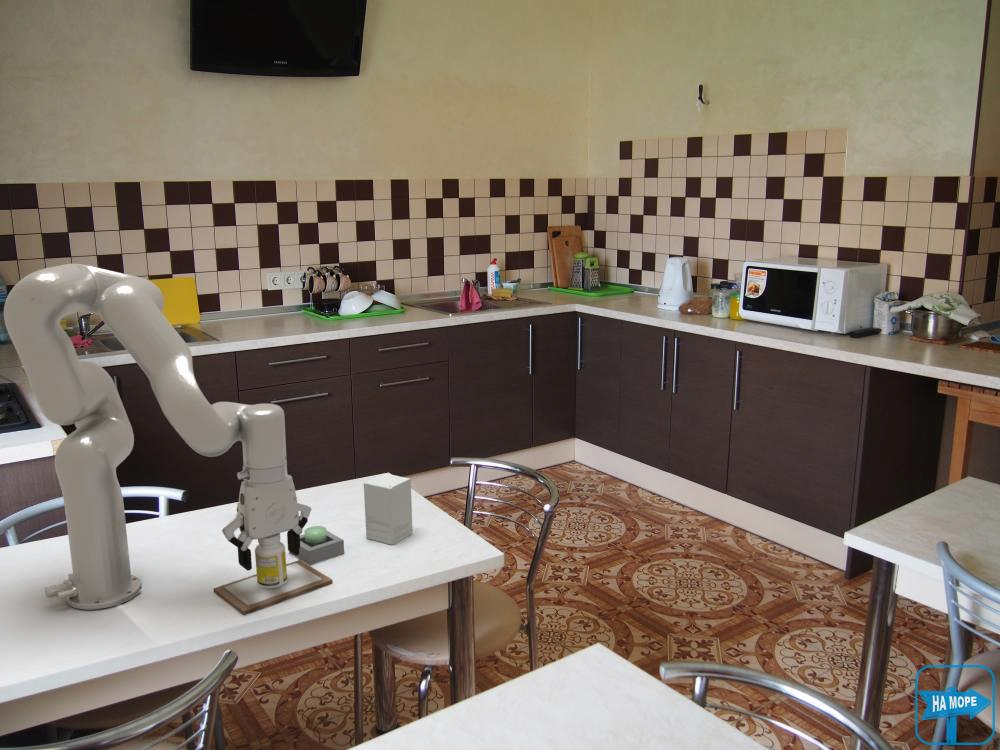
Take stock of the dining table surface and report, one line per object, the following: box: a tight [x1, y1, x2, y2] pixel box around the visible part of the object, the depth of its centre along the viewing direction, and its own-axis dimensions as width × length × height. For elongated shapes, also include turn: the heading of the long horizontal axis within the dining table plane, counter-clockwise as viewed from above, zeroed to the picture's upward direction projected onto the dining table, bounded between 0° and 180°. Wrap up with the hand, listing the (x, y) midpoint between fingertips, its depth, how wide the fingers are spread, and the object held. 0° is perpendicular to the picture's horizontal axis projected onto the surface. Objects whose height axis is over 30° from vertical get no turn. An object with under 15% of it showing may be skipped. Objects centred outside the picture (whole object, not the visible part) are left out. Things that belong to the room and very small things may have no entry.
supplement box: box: [363, 473, 413, 545], centre depth 182 cm, size 7×7×13 cm
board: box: [213, 559, 334, 616], centre depth 160 cm, size 18×12×1 cm, turn 133°
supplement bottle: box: [254, 533, 287, 589], centre depth 159 cm, size 5×5×10 cm
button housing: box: [288, 530, 345, 566], centre depth 175 cm, size 8×8×3 cm
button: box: [303, 525, 328, 544], centre depth 174 cm, size 4×4×2 cm
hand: (270, 560), depth 159 cm, fingers open, 9 cm apart
